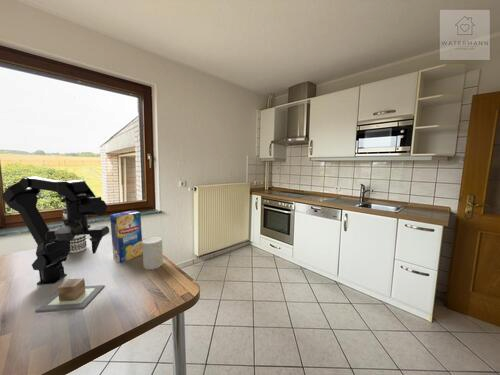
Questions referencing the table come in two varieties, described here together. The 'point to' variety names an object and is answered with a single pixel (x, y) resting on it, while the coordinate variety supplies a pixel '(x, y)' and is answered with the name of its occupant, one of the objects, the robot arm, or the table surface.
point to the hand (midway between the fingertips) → (81, 254)
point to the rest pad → (76, 304)
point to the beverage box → (126, 235)
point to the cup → (152, 252)
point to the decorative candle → (75, 238)
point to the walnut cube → (71, 289)
